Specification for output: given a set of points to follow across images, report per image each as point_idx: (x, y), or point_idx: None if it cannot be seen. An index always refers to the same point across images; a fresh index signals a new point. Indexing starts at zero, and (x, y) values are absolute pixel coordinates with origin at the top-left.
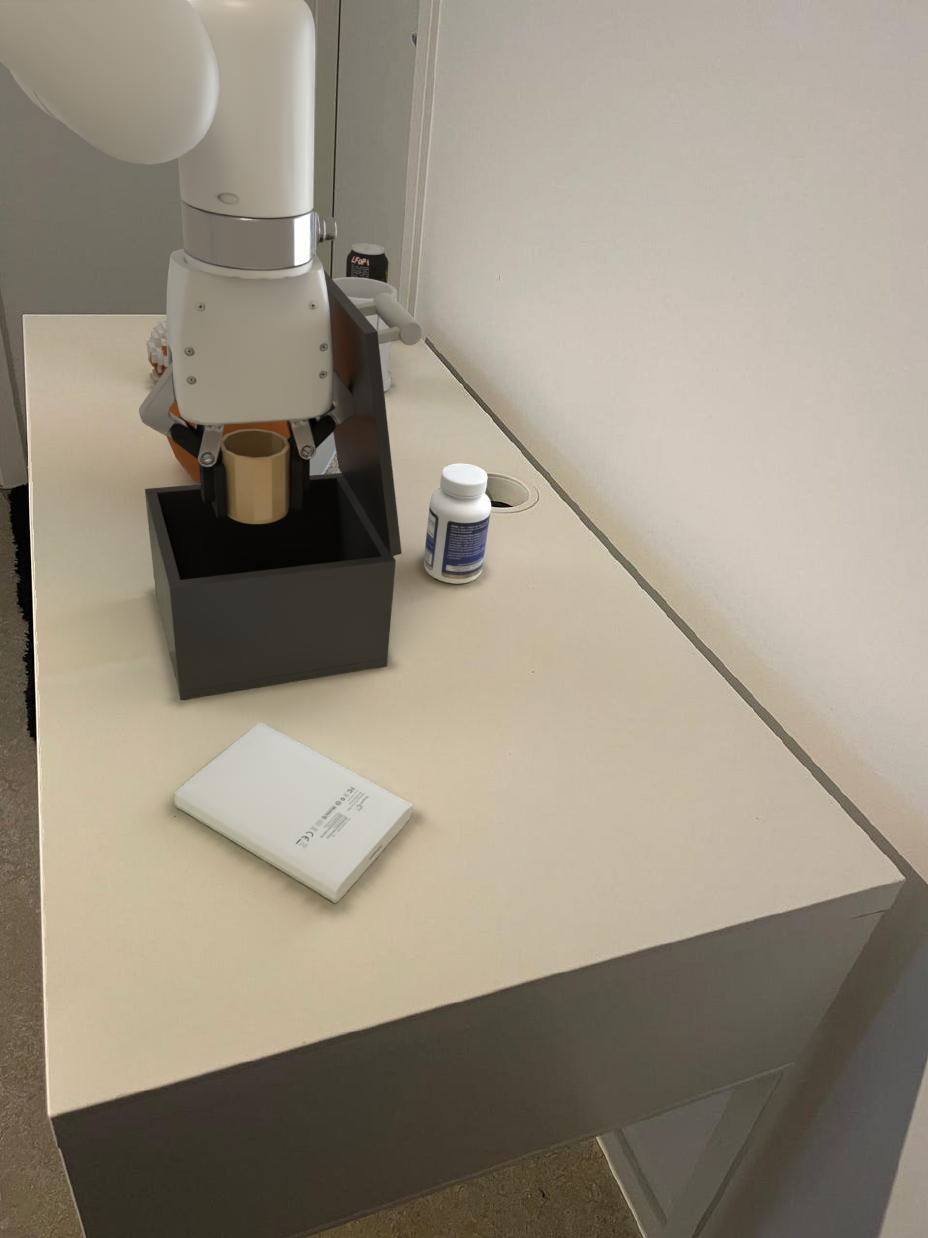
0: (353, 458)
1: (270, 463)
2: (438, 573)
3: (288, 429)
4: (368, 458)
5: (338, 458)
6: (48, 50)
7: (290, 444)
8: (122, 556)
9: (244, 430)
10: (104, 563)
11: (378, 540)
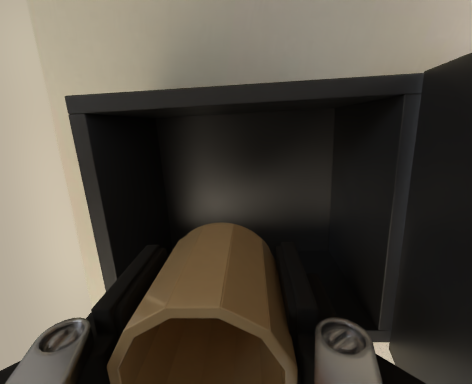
0: (459, 256)
1: None
2: None
3: (314, 372)
4: None
5: (437, 82)
6: None
7: (302, 379)
8: (112, 24)
9: (181, 314)
10: (94, 38)
11: (390, 297)
